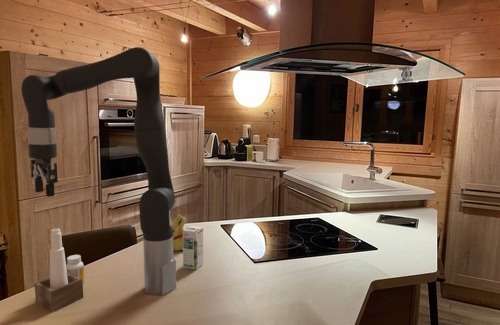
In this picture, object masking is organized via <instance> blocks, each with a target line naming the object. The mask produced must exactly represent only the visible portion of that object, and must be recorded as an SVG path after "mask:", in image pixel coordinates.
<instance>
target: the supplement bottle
mask: <svg viewBox="0 0 500 325" xmlns="http://www.w3.org/2000/svg"><path fill="white" fill-rule="evenodd" d="M81 257H82V256H81V255H80V254H74V255H73V254H72V255H69V256H68V257H67V258H66V271H67V273H69V274H71V275H73V276H76V277H78V278H81V279H83V286H84V285H85V267H84V266H85V265H84V262H83V261H82V258H81Z"/></svg>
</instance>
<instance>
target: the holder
mask: <svg viewBox="0 0 500 325" xmlns="http://www.w3.org/2000/svg"><path fill="white" fill-rule="evenodd" d="M67 279H68V284H66V285H64V286H61V287H59V288H57V289H54V290H53V289H51V288H50V277H48V278H45V279H42V280H39V281H37V282H35V283H34V292H35V293H34V294H35V303H37V304H38V305H40V306H41V307H44V308H46V309H48V310H49V311H52V312H56V311H58V310H60V309H62V308H64V307H67V306H69V305H71V304H73V303H75V302H77V301H79V300H81V299H83V298H84V285H83V279H81V278H78V277H76V276H73V275H71V274H69V273H67Z"/></svg>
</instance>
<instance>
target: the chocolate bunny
mask: <svg viewBox="0 0 500 325" xmlns="http://www.w3.org/2000/svg"><path fill="white" fill-rule="evenodd" d="M186 222H187V217H184V216H182V215H181V214H179V213H178V214H177V215H176V216H175V218H174V220H173V222H172V223H170V226H172V228H173V252H176V251H183V230H184V226H185V225H186Z"/></svg>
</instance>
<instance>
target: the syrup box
mask: <svg viewBox="0 0 500 325" xmlns="http://www.w3.org/2000/svg"><path fill="white" fill-rule="evenodd" d="M202 265H204V227H199V226H198V227H197V226H193V225H192V226H191V225H190V226H187V227H185V228H183V250H182V268H183V269H190V270H195V271H197V270H198V269H199V268H201V267H202Z"/></svg>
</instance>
